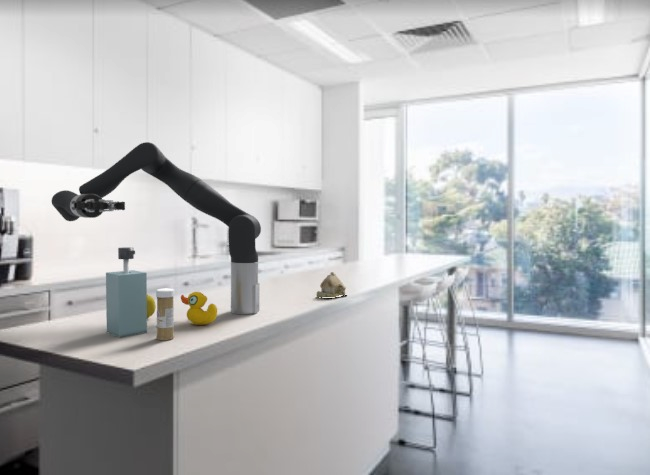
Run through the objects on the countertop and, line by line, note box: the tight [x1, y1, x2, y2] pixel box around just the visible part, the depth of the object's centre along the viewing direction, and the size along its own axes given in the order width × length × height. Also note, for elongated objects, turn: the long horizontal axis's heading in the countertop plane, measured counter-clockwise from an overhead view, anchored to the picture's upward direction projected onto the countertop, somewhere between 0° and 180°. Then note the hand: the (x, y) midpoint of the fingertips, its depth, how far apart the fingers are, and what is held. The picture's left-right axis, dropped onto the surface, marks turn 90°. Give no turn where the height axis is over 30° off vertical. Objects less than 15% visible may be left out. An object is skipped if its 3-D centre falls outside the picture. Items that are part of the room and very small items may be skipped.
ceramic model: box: [315, 271, 347, 297], centre depth 203 cm, size 14×11×10 cm
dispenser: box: [105, 269, 148, 338], centre depth 140 cm, size 8×8×17 cm
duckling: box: [180, 291, 218, 326], centre depth 151 cm, size 11×5×10 cm, turn 82°
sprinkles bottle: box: [155, 287, 175, 341], centre depth 134 cm, size 5×5×14 cm
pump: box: [117, 247, 136, 273], centre depth 138 cm, size 6×4×14 cm, turn 46°
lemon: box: [147, 293, 157, 320], centre depth 157 cm, size 6×6×8 cm
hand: (108, 205), depth 146 cm, fingers open, 8 cm apart
